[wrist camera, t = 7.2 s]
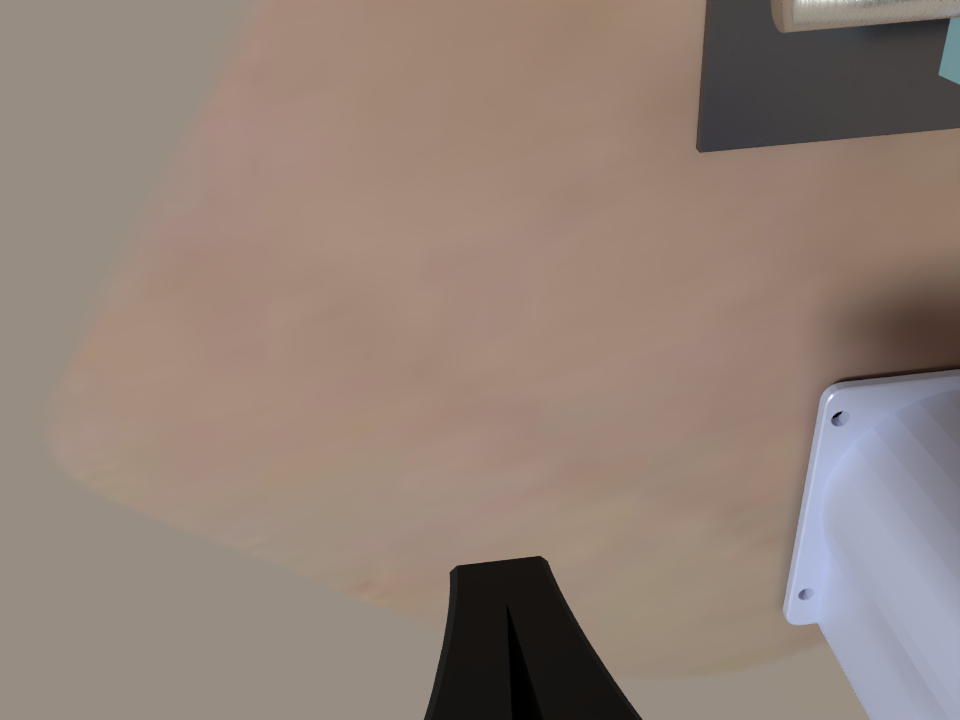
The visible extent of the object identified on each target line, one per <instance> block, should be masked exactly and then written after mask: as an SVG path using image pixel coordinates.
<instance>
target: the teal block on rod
mask: <svg viewBox="0 0 960 720" xmlns="http://www.w3.org/2000/svg"><path fill="white" fill-rule="evenodd" d="M939 75H940V76H942V77H944V78H946V79H949V80H951V81H953V82H955V83H957V84H959V85H960V17H956V18H951V19H950V23H949V28H948V33H947V37H946V42H945V47H944V51H943V56H942V61H941V65H940V70H939Z"/></svg>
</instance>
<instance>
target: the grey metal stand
mask: <svg viewBox="0 0 960 720" xmlns="http://www.w3.org/2000/svg"><path fill="white" fill-rule="evenodd" d="M956 17H960V0H707V3H706V17H705V31H704V45H703V59H702V73H701V87H700V101H699V115H698V129H697V143H696V149H697V150H698V151H699V152H700V153H701V152H712V151H722V150H733V149H743V148H754V147H765V146H775V145H786V144H796V143H807V142H817V141H828V140H838V139H849V138H859V137H870V136H880V135H891V134H901V133H912V132H922V131H933V130H943V129H954V128H960V85H959V84H957V83H955V82H953V81H951V80H949V79H946V78H944V77H942V76H940V75H939V70H940V65H941V61H942V56H943V51H944V47H945V42H946V37H947V33H948V28H949V23H950V19H951V18H956Z"/></svg>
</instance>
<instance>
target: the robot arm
mask: <svg viewBox="0 0 960 720" xmlns="http://www.w3.org/2000/svg"><path fill="white" fill-rule="evenodd" d="M841 411H842V413H841V414H840V415H839V416H838V417H835V418H832V417H833V416H834V415H835V414H836V413H837V412H841ZM783 613H784V615H785V617H786V619H787V621H788V622H789V623H790V624H793V625H805V624H813V623H818V625H819V627H820V629H821V631H822V632H823V634H824V636H825V638H826V640H827V641H828V643H829V645H830V647H831V649H832V651H833V652H834V654H835V656H836V658H837V660H838V662H839V663H840V665H841V667H842V669H843V671H844V673H845V674H846V676H847V678H848V680H849V682H850V684H851V685H852V687H853V689H854V691H855V693H856V694H857V696H858V698H859V700H860V702H861V704H862V705H863V707H864V709H865V711H866V713H867V715H868V717H869V718H870V720H960V369H957V370H948V371H939V372H930V373H921V374H912V375H903V376H894V377H885V378H875V379H866V380H857V381H848V382H840V383H836V384H833V385H832V386H830V387H828V388H827V389H826V390H825V391H824V392H823V394H822V396H821V399H820V404H819V409H818V415H817V421H816V426H815V432H814V438H813V443H812V449H811V454H810V460H809V466H808V471H807V477H806V483H805V488H804V494H803V499H802V505H801V511H800V516H799V522H798V528H797V533H796V539H795V544H794V550H793V556H792V561H791V567H790V573H789V578H788V584H787V590H786V595H785V601H784V606H783ZM424 720H642V718H641V717H640V716H639V714H638V713H637V712H636V710H635V709H634V707H633V706H632V705H631V703H630V702H629V701H628V699H627V698H626V696H625V695H624V694H623V692H622V691H621V690H620V688H619V687H618V685H617V684H616V682H615V681H614V679H613V678H612V676H611V675H610V673H609V672H608V670H607V669H606V667H605V666H604V664H603V662H602V661H601V659H600V658H599V656H598V655H597V653H596V652H595V650H594V649H593V647H592V646H591V644H590V642H589V641H588V639H587V637H586V636H585V634H584V632H583V631H582V629H581V627H580V626H579V624H578V622H577V620H576V619H575V617H574V615H573V613H572V612H571V610H570V608H569V606H568V604H567V602H566V600H565V599H564V597H563V595H562V593H561V591H560V589H559V587H558V585H557V582H556V580H555V578H554V576H553V574H552V571H551V569H550V566H549V564H548V561H547V560H545V559H544V558H542V557H541V556H535V557H527V558H518V559H510V560H501V561H493V562H484V563H476V564H467V565H459V566H456V567H455V568H454V569H453V570H452V571H451V572H450V598H449V609H448V616H447V624H446V629H445V635H444V641H443V647H442V651H441V655H440V660H439V664H438V668H437V673H436V677H435V681H434V686H433V690H432V694H431V697H430V701H429V705H428V708H427V711H426V715H425V718H424Z"/></svg>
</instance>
